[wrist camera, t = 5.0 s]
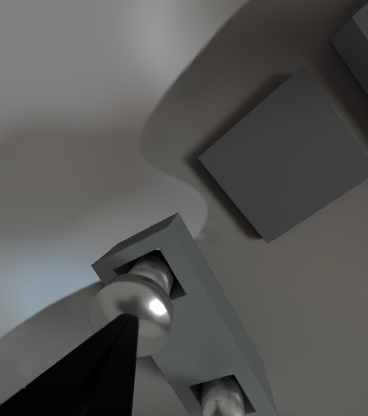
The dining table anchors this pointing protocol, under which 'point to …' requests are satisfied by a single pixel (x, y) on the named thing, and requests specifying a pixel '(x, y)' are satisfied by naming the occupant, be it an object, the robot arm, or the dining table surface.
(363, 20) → the socket plate
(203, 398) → the plunger
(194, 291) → the bar
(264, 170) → the mat
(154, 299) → the plunger
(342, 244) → the dining table surface
